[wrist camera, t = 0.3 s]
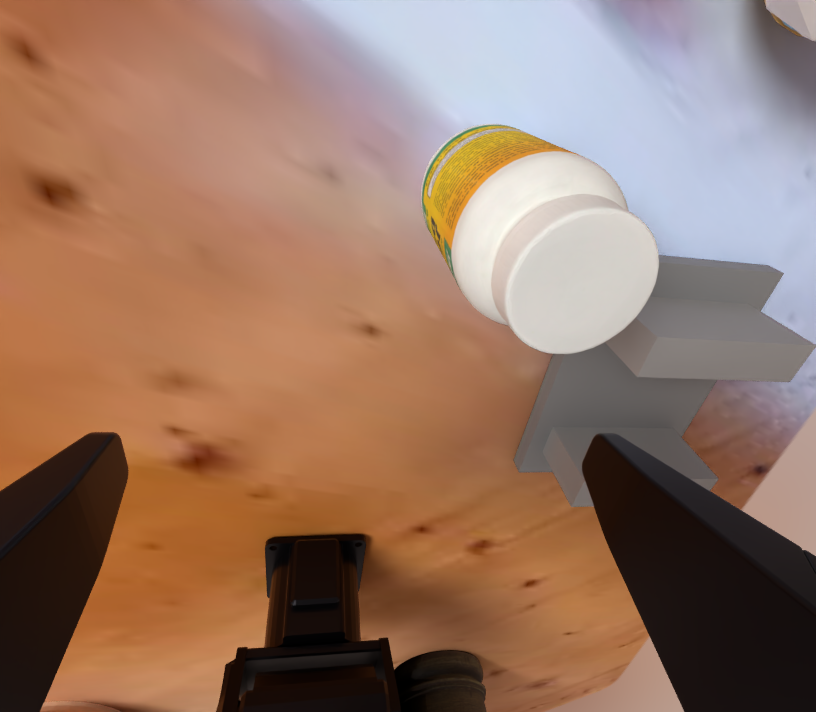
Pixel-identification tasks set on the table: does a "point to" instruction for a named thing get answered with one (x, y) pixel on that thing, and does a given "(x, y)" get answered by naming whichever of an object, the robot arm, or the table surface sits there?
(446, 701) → the container
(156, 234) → the table surface
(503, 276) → the supplement bottle
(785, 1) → the ornament
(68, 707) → the bowl
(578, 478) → the holder
